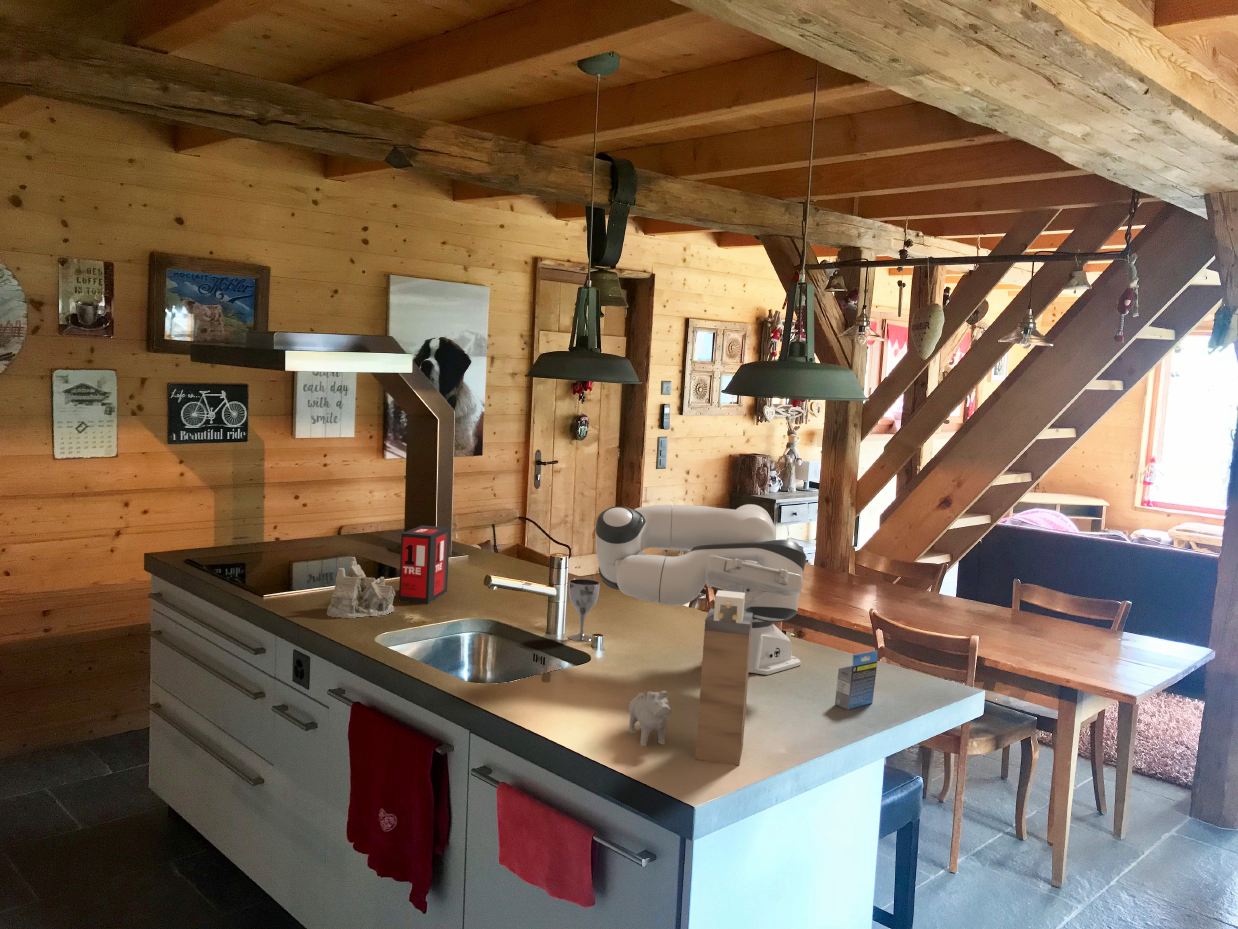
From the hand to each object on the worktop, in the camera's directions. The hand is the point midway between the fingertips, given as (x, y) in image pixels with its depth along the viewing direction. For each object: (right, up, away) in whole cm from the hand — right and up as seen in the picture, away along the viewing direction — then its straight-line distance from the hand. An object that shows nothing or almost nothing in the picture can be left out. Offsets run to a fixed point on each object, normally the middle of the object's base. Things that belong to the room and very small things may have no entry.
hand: (761, 568), depth 193 cm
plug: (-8, -6, -14) cm, 17 cm away
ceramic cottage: (-100, -20, +68) cm, 123 cm away
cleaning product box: (-87, -19, +91) cm, 127 cm away
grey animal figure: (-23, -32, -11) cm, 41 cm away
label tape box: (+23, -32, +17) cm, 43 cm away
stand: (-10, -33, -16) cm, 38 cm away
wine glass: (-39, -25, +57) cm, 73 cm away
